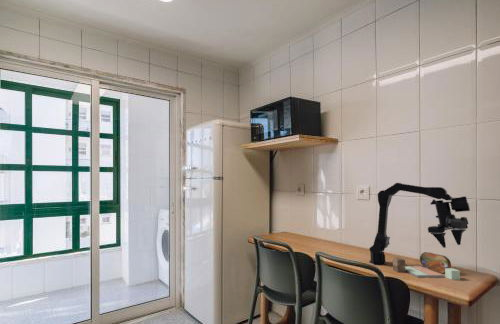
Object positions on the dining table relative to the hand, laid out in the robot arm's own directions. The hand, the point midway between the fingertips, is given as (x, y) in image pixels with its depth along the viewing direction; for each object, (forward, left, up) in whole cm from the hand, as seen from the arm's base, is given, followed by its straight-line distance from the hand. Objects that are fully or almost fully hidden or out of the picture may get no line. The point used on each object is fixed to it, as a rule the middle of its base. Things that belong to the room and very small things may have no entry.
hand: (451, 246), depth 136 cm
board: (-11, +7, -14) cm, 20 cm away
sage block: (-2, -2, -14) cm, 14 cm away
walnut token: (-21, +9, -14) cm, 27 cm away
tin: (-1, +10, -14) cm, 17 cm away
